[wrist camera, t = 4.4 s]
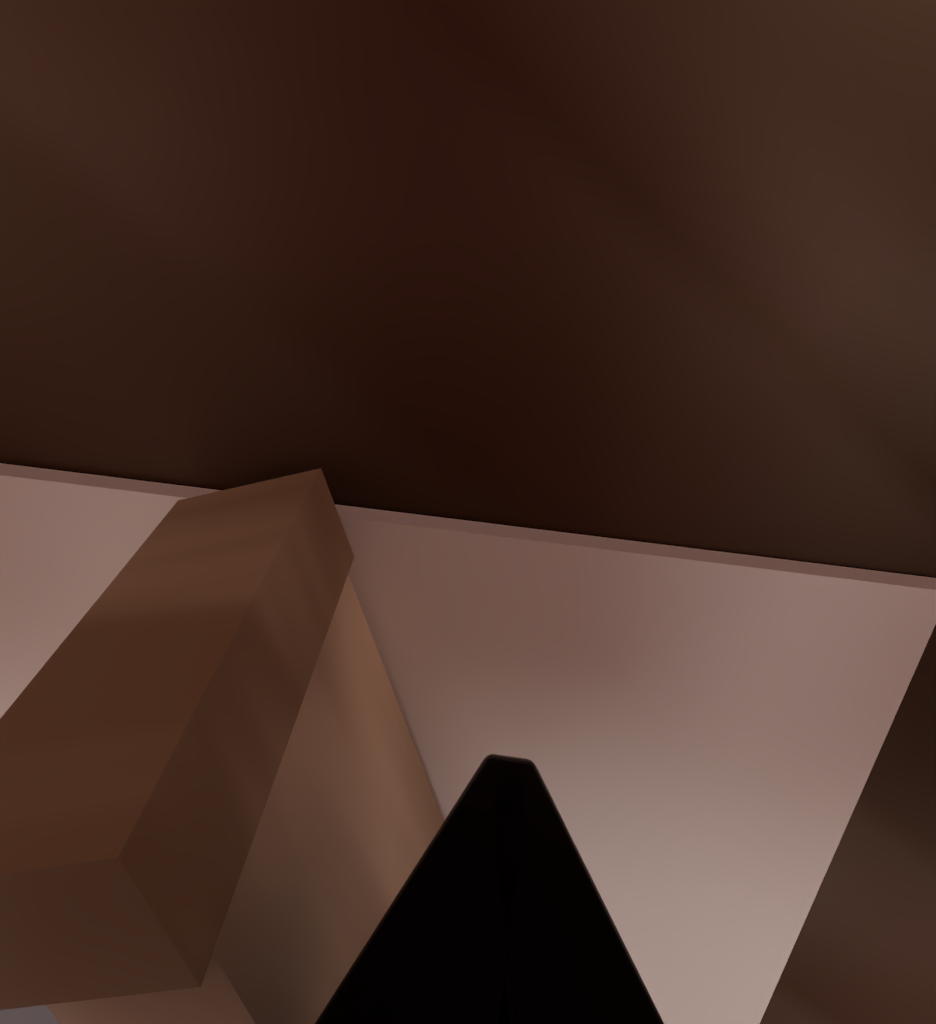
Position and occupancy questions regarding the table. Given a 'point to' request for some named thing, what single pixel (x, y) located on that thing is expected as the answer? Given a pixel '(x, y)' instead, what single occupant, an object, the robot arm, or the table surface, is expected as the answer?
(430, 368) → the table surface
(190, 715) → the brown tall flat block
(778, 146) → the table surface
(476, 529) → the board
